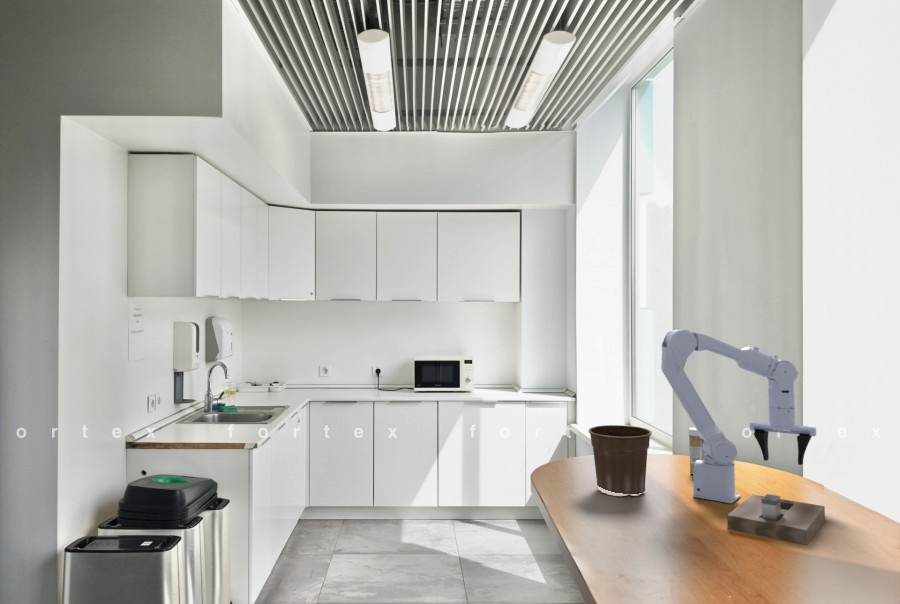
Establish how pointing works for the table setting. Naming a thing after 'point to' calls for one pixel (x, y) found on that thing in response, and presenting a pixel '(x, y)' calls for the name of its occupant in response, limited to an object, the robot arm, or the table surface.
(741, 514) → the post foot
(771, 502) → the brushed metal block
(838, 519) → the table surface
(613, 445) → the plant pot
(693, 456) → the sprinkles bottle
